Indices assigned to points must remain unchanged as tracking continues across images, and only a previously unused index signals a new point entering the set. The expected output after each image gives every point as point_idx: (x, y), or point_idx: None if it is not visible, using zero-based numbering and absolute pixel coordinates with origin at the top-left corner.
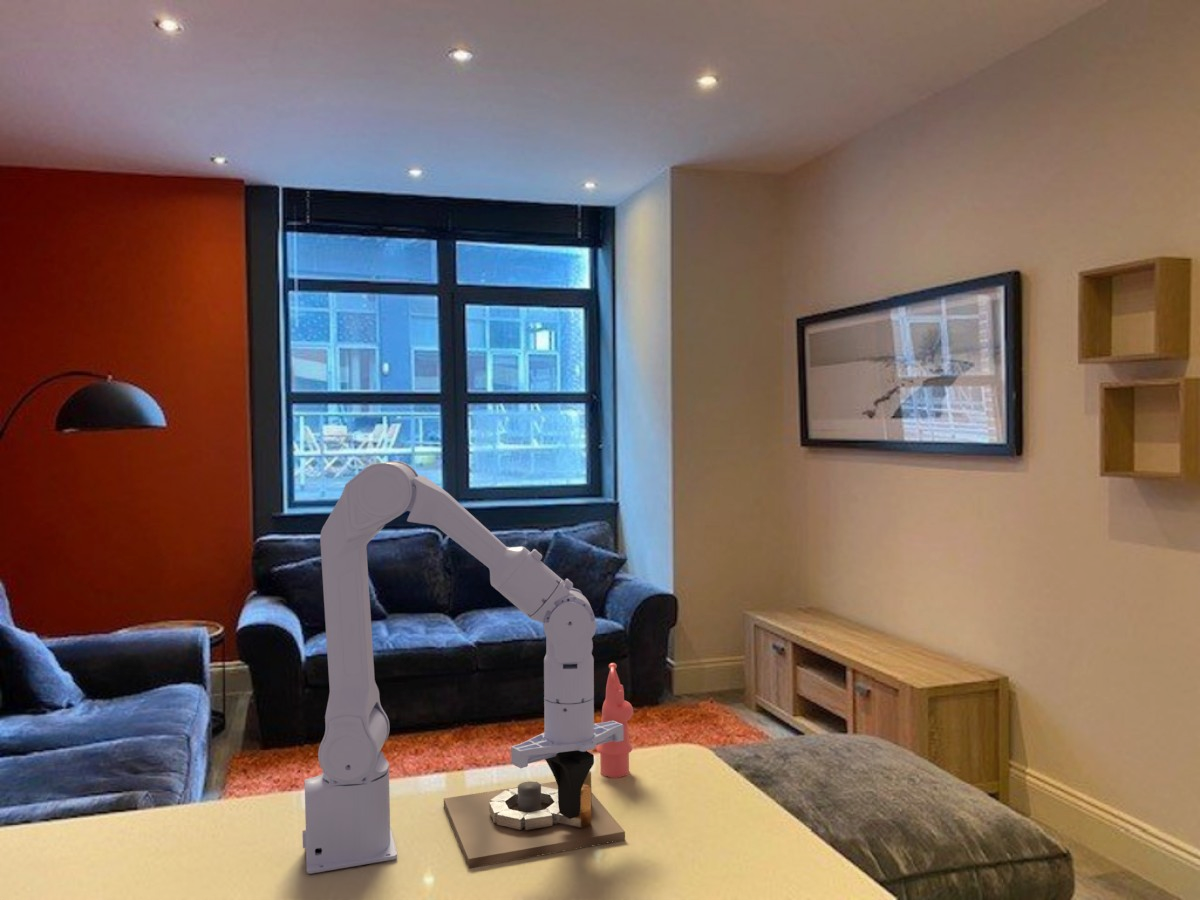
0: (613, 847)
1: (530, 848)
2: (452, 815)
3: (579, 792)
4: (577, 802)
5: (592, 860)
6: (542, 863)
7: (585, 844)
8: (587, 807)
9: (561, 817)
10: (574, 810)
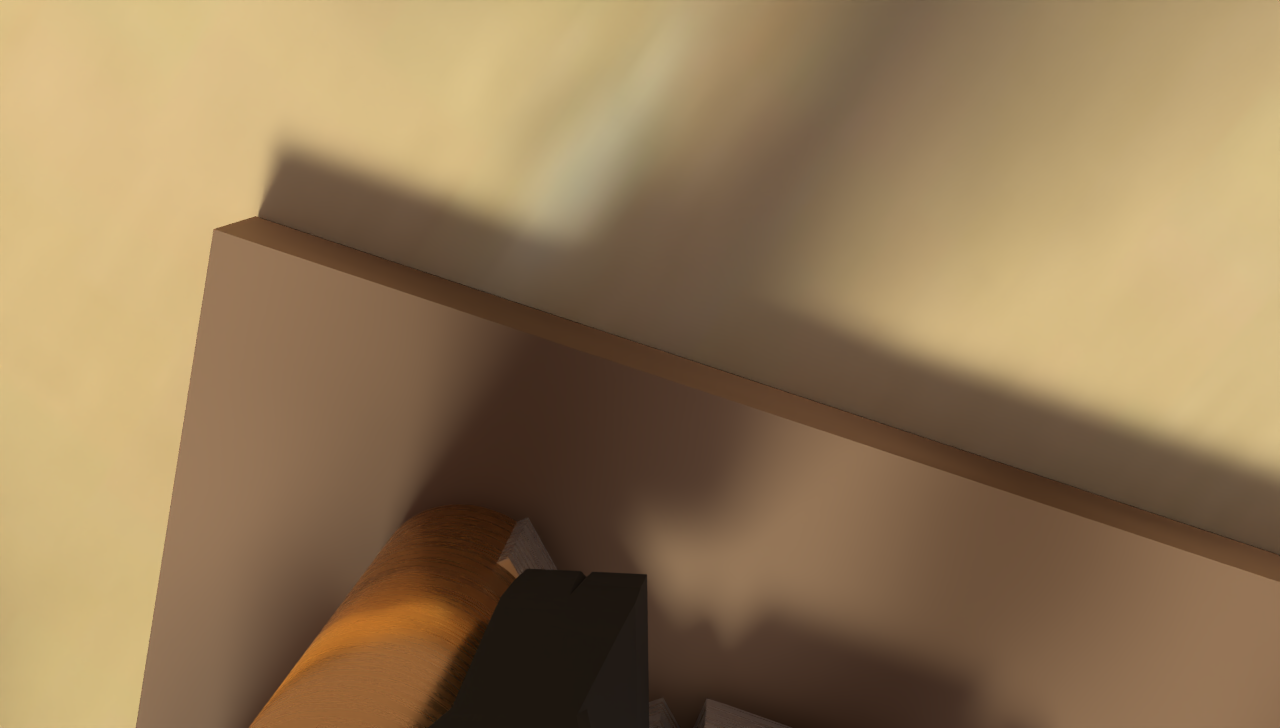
0: (407, 178)
1: (1100, 521)
2: None
3: (471, 706)
4: (531, 635)
5: (697, 98)
6: (1069, 340)
7: (600, 339)
8: (394, 596)
9: None
10: (587, 596)
